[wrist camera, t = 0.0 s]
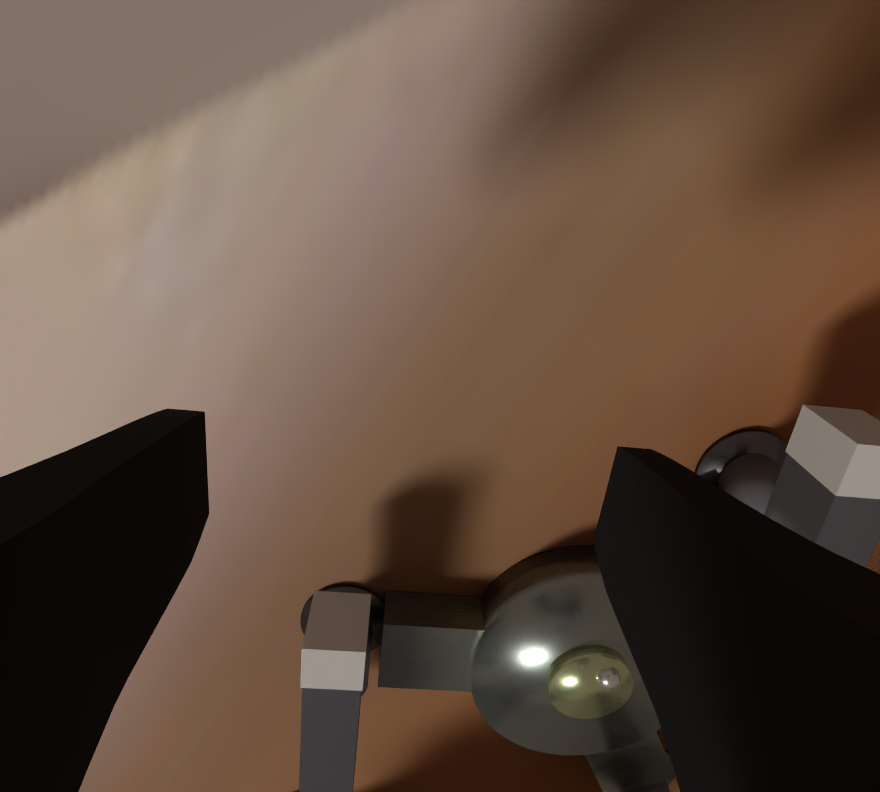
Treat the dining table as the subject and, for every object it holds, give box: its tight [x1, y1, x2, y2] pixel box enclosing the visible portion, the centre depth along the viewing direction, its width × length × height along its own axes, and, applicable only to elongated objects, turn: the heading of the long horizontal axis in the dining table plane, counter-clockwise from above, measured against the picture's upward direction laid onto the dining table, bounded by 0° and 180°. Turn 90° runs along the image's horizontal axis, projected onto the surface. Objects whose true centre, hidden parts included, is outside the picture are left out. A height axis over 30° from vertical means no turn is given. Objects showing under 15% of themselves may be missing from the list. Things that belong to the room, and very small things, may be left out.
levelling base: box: [301, 429, 787, 792], centre depth 24 cm, size 20×18×3 cm
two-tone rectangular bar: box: [719, 405, 880, 567], centre depth 20 cm, size 8×2×5 cm, turn 174°
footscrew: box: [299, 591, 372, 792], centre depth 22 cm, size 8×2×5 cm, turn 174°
